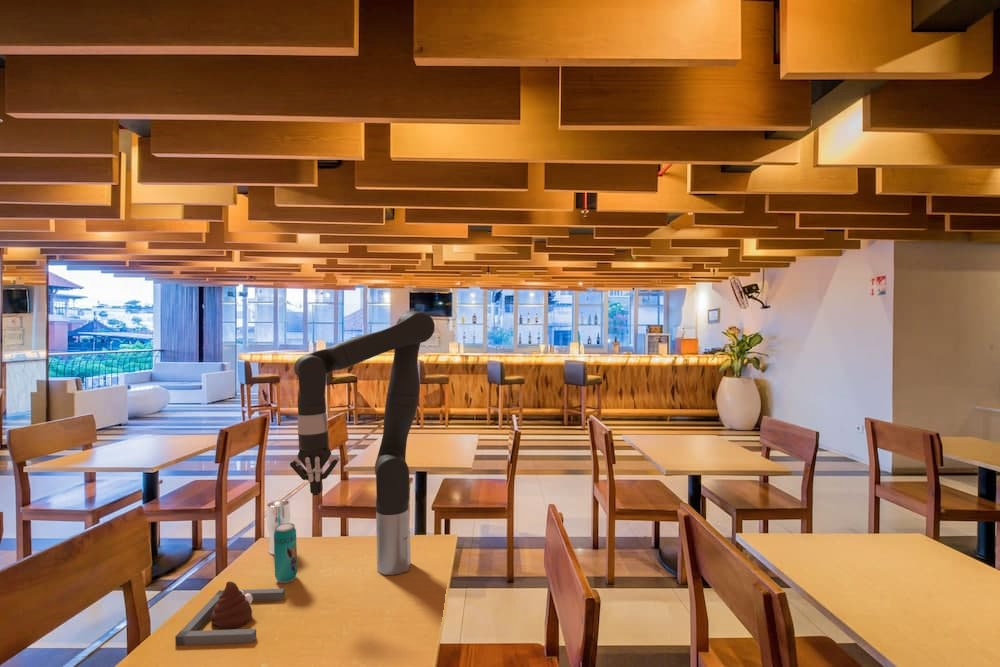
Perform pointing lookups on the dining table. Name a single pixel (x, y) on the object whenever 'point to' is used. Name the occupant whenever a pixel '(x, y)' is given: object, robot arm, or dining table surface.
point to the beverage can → (285, 552)
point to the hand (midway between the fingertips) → (316, 494)
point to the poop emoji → (232, 608)
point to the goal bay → (195, 637)
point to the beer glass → (276, 518)
